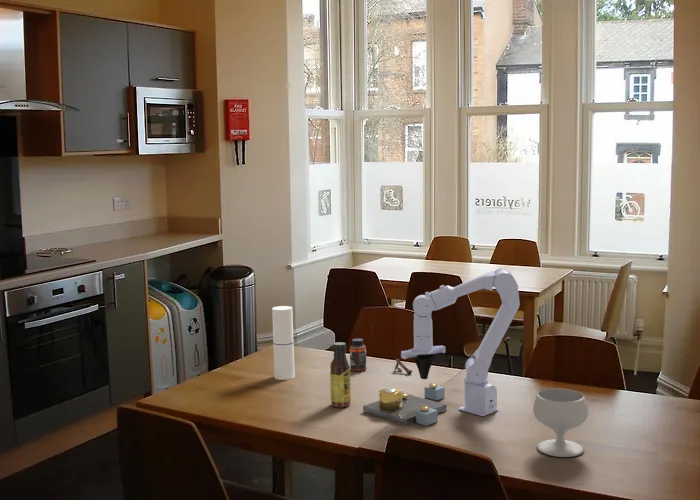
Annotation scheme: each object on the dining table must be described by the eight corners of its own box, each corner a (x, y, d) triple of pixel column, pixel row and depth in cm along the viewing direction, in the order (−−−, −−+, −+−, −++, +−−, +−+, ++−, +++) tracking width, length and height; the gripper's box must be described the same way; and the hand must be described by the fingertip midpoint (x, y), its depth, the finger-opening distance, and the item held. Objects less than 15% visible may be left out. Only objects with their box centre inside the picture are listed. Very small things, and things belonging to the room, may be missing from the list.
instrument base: (446, 411, 246) (446, 387, 245) (406, 425, 233) (406, 401, 232) (403, 398, 258) (402, 376, 258) (363, 412, 246) (362, 389, 245)
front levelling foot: (444, 397, 258) (444, 384, 257) (436, 400, 255) (436, 387, 255) (432, 394, 262) (432, 381, 261) (424, 397, 259) (424, 383, 258)
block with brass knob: (437, 421, 236) (437, 406, 235) (426, 425, 232) (426, 411, 232) (427, 418, 239) (427, 404, 238) (416, 422, 235) (415, 408, 235)
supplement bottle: (369, 368, 294) (369, 338, 293) (361, 372, 289) (360, 342, 288) (355, 366, 297) (355, 336, 296) (347, 370, 292) (346, 340, 291)
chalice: (578, 439, 220) (578, 385, 218) (595, 458, 206) (596, 402, 204) (527, 441, 219) (527, 387, 217) (541, 460, 205) (541, 404, 203)
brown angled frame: (395, 366, 293) (398, 356, 291) (409, 379, 288) (412, 369, 286) (391, 367, 292) (395, 357, 290) (405, 380, 287) (408, 370, 285)
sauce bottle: (348, 409, 250) (347, 346, 247) (328, 408, 251) (327, 345, 248) (352, 402, 256) (351, 341, 253) (333, 401, 257) (331, 340, 255)
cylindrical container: (271, 379, 284) (268, 309, 281) (279, 373, 291) (276, 305, 288) (290, 380, 282) (288, 310, 279) (297, 374, 289) (295, 306, 285)
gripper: (408, 340, 238) (409, 385, 239) (450, 334, 244) (451, 378, 246) (397, 335, 244) (398, 379, 246) (438, 330, 250) (439, 372, 252)
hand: (423, 378), depth 246 cm, fingers closed
